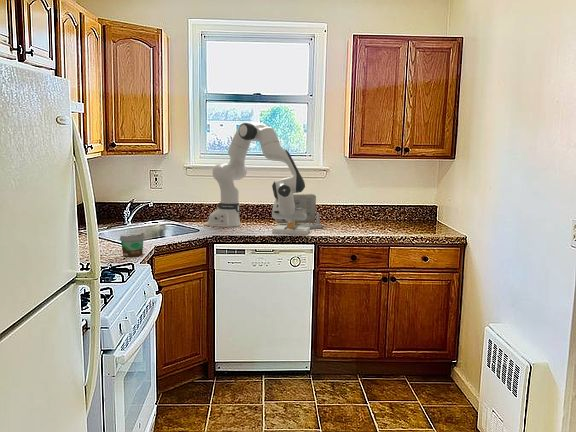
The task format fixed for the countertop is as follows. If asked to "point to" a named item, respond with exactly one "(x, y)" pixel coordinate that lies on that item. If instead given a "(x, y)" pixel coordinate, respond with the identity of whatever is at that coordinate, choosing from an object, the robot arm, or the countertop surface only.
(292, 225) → the switch tab
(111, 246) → the countertop surface
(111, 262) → the countertop surface
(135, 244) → the food container
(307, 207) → the network device
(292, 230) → the switch panel
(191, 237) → the countertop surface
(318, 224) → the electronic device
